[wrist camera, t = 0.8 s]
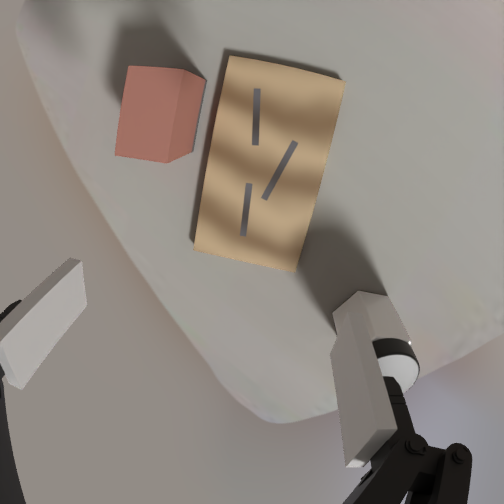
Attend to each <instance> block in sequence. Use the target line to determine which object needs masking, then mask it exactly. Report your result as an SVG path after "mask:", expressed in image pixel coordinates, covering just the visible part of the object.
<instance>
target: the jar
mask: <svg viewBox="0 0 504 504" xmlns="http://www.w3.org/2000/svg"><path fill="white" fill-rule="evenodd" d="M347 312H353V313H360V314H362V315H363V318H364V321H365V324H366V326H367V329H368V332H369V335H370V338H371V341H372V344H373V347H374V351H375V354H376V357H377V360H378V363H379V366H380V369H381V373H382V376H391V377H394V378H395V380H396V381H397V382H398V383H399V385H400V386H401V389H402V392H403V394H404V393H405V392H407V391H408V390H409V389H410V388H411V387H412V386H413V384H414V383H415V381H416V380H417V378H418V375H419V371H420V367H419V363H418V360H417V358H416V356H415V354H414V352H413V350H412V347H411V339H410V337H409V335H408V333H407V331H406V329H405V327H404V325H403V323H402V321H401V319H400V317H399V315H398V313H397V311H396V309H395V307H394V306H393V304H392V302H391V300H390V298H389V297H388V296H384V295H379V294H373V293H368V292H363V291H357V292H356V293H355V294H354V295H352V296H351V297H350V298H349V299H348V300H347V301H346V302H344V303H343V304H342V305H341V306H340V307H339V308H337V309H336V310H335V311H334V312H333V313H332V315H333V319H334V323H335V327H336V331H337V336H336V337H338V334H339V332H340V329H341V327H342V324H343V322H344V319H345V317H346V314H347Z"/></svg>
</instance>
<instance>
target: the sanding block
mask: <svg viewBox="0 0 504 504" xmlns="http://www.w3.org/2000/svg"><path fill="white" fill-rule="evenodd" d="M206 83H207V80H205V79H203V78H201V77H199V76H197V75H195V74H193V73H191V72H189V71H187V70H184V69H176V68H164V67H148V66H128V71H127V76H126V81H125V87H124V92H123V98H122V104H121V110H120V117H119V124H118V131H117V139H116V148H115V156H122V157H129V158H136V159H142V160H149V161H155V162H161V163H169V162H171V161H173V160H176V159H178V158H180V157H182V156H184V155H186V154H189V153H191V152H193V150H194V145H195V139H196V134H197V128H198V123H199V118H200V113H201V107H202V102H203V98H204V93H205V88H206Z"/></svg>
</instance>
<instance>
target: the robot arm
mask: <svg viewBox="0 0 504 504" xmlns="http://www.w3.org/2000/svg"><path fill="white" fill-rule="evenodd" d="M86 306H87V301H86V294H85V286H84V277H83V268H82V261H81V260H77V259H73V258H69V259H68V260H67V261H66V262H65V263H63V264H62V265H61V266H60V267H59V268H58V269H56V270H55V271H54V272H53V273H52V274H51V275H50V276H48V277H47V278H46V279H45V280H44V281H43V282H42V283H41V284H40V285H39V286H37V287H36V288H35V289H34V290H33V291H32V292H31V293H30V294H29V295H28V296H27V297H26V298H25V299H24V300H18V301H16V302H14V303H12V304H11V305H9V306H8V307H7V308H6V309H5V310H4V312H2V313H1V314H0V504H26V502H25V499H24V496H23V492H22V489H21V485H20V481H19V478H18V474H17V469H16V465H15V461H14V456H13V451H12V446H11V441H10V435H9V429H8V422H7V415H6V406H5V398H4V386H3V382H2V377H3V376H4V375H5V376H6V378H7V380H8V382H9V384H11V385H13V386H15V387H17V388H19V389H20V390H22V389H23V388H24V386H25V385H26V384H27V382H28V381H29V379H30V378H31V377H32V375H33V374H34V372H35V371H36V370H37V368H38V367H39V366H40V364H41V363H42V362H43V360H44V359H45V358H46V356H47V355H48V353H49V352H50V351H51V350H52V348H53V347H54V346H55V345H56V343H57V342H58V341H59V339H60V338H61V337H62V336H63V334H64V333H65V332H66V331H67V329H68V328H69V327H70V325H71V324H72V323H73V322H74V321H75V319H76V318H77V317H78V316H79V314H80V313H81V312H82V311H83V310H84V308H85V307H86ZM330 357H331V363H332V370H333V376H334V382H335V389H336V396H337V403H338V410H339V417H340V424H341V432H342V440H343V449H344V457H345V467H364V466H365V465H366V464H367V463H368V462H369V461H371V467H372V468H371V469H370V471H368V472H367V473H366V474H365V475H364V476H363V477H362V478H361V482H360V483H359V484H358V486H357V487H356V488H355V489H354V491H353V492H352V493H351V494H350V495H349V497H348V498H347V499H346V500H345V502H343V504H400V503H401V502H402V500H403V498H404V497H405V495H406V493H407V492H408V494H407V497H406V501H405V504H467V500H468V494H469V486H470V477H471V468H472V454H471V452H470V451H469V449H468V448H467V447H466V446H465V445H462V444H461V443H454V444H451V445H450V446H449V447H448V448H447V449H446V450H445V449H440V448H435V447H431V446H428V444H427V442H426V440H425V439H424V438H423V437H421V436H420V435H418V434H416V433H415V431H414V428H413V424H412V421H411V417H410V414H409V411H408V408H407V405H406V402H405V399H404V397H403V392H402V389H401V386H400V385H399V383H398V382H397V381H396V380H395V378H394V377H391V376H382V373H381V369H380V366H379V363H378V360H377V357H376V354H375V351H374V347H373V344H372V341H371V338H370V335H369V332H368V329H367V326H366V324H365V321H364V318H363V315H362V314H360V313H353V312H347V314H346V317H345V319H344V322H343V324H342V327H341V329H340V332H339V334H338V337H337V339H336V341H335V344H334V346H333V349H332V351H331V353H330Z"/></svg>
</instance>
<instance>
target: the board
mask: <svg viewBox="0 0 504 504" xmlns="http://www.w3.org/2000/svg"><path fill="white" fill-rule="evenodd" d="M345 83H346V82H345V81H342V80H339V79H335V78H332V77H329V76H325V75H321V74H318V73H314V72H310V71H306V70H302V69H298V68H294V67H289V66H285V65H280V64H275V63H271V62H265V61H260V60H255V59H249V58H243V57H237V56H229V60H228V65H227V69H226V73H225V78H224V82H223V87H222V92H221V96H220V101H219V106H218V111H217V115H216V120H215V125H214V131H213V136H212V141H211V146H210V152H209V157H208V162H207V168H206V174H205V179H204V185H203V191H202V197H201V203H200V210H199V216H198V222H197V229H196V236H195V242H194V249H193V250H195V251H199V252H203V253H208V254H212V255H217V256H221V257H226V258H230V259H235V260H240V261H244V262H249V263H253V264H258V265H262V266H267V267H272V268H276V269H281V270H285V271H290V272H295V271H296V268H297V264H298V261H299V258H300V254H301V251H302V248H303V244H304V241H305V237H306V234H307V230H308V227H309V223H310V220H311V216H312V213H313V209H314V206H315V202H316V199H317V195H318V191H319V188H320V184H321V180H322V176H323V173H324V169H325V165H326V161H327V157H328V153H329V150H330V146H331V142H332V138H333V134H334V130H335V126H336V122H337V117H338V113H339V109H340V105H341V101H342V96H343V92H344V88H345Z"/></svg>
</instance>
